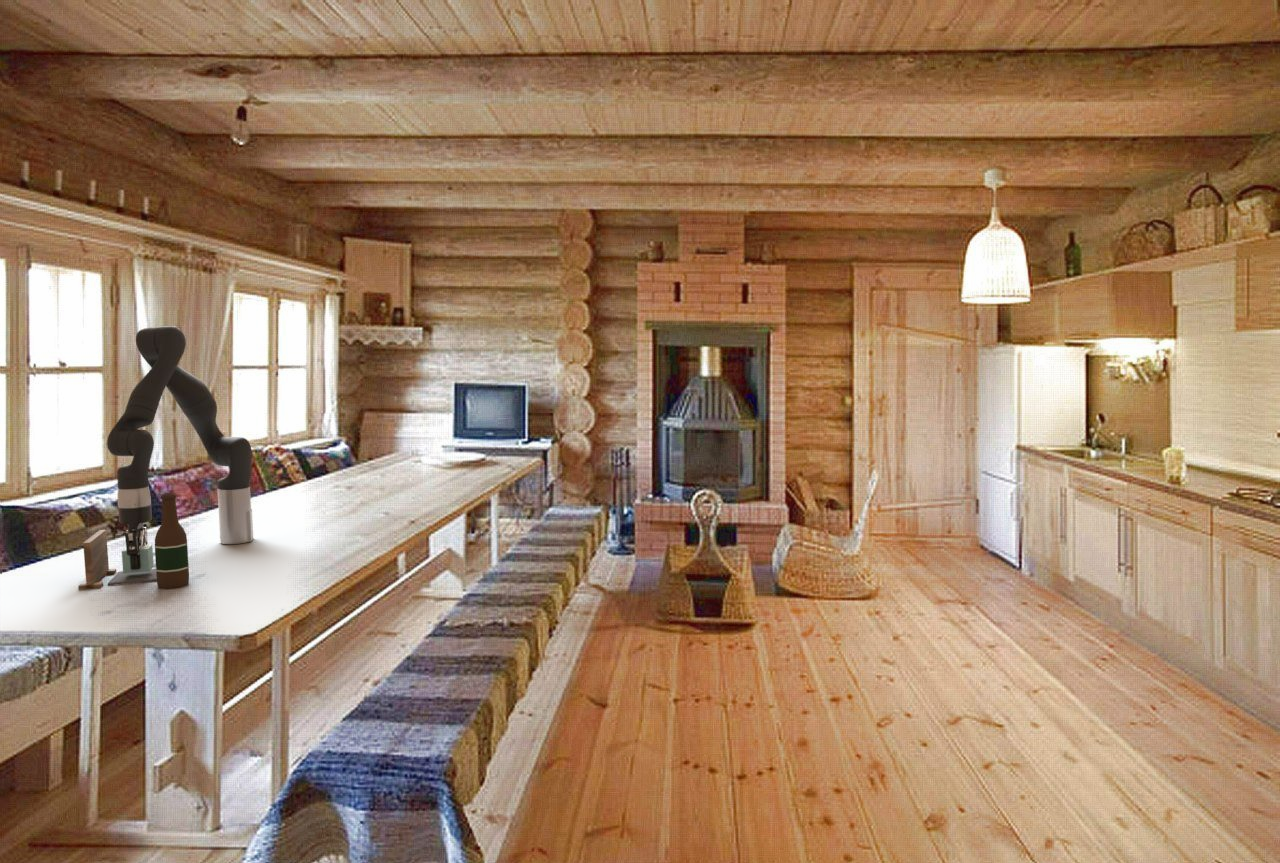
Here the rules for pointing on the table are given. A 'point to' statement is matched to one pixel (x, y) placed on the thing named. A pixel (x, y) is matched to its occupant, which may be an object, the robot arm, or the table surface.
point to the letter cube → (145, 560)
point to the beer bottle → (171, 548)
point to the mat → (133, 577)
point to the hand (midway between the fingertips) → (138, 566)
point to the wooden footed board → (96, 561)
